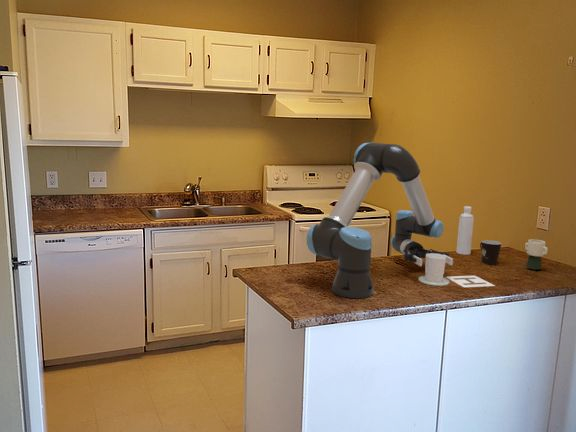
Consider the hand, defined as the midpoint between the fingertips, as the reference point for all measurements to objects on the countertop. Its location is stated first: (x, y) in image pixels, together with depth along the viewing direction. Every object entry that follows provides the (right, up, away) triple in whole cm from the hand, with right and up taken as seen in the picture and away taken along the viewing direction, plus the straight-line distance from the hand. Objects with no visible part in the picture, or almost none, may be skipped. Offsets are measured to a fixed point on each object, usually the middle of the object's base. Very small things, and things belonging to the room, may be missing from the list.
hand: (436, 262), depth 206 cm
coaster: (-1, -8, +2) cm, 8 cm away
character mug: (+51, -6, +26) cm, 57 cm away
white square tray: (+14, -8, +3) cm, 17 cm away
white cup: (-1, -7, +2) cm, 8 cm away
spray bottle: (+28, 0, +51) cm, 58 cm away
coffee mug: (+34, -3, +35) cm, 49 cm away
